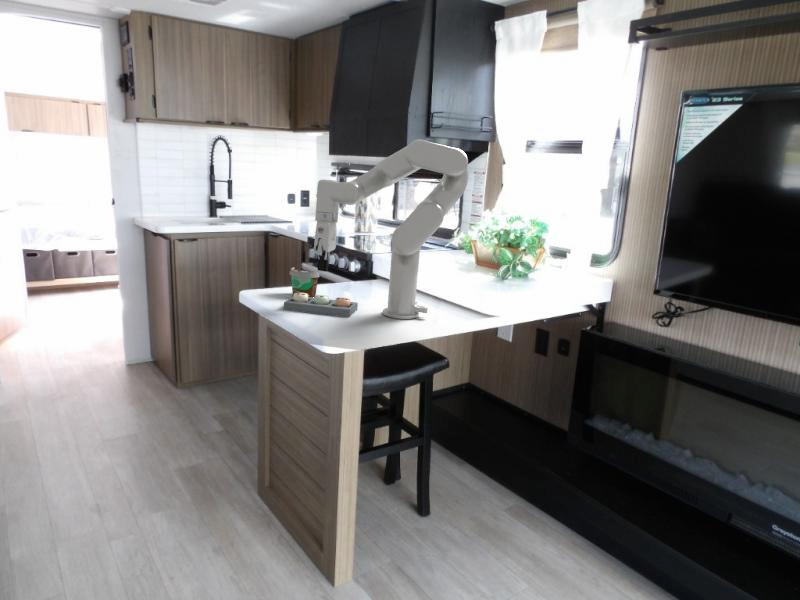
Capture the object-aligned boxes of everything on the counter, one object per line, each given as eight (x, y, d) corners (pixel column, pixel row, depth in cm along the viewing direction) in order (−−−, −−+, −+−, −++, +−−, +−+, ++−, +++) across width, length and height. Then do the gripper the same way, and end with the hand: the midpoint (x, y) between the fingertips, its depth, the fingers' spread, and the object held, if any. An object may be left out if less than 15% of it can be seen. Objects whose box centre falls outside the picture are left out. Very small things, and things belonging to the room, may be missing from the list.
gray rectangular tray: (357, 309, 198) (357, 302, 198) (349, 317, 188) (349, 309, 187) (294, 302, 202) (295, 295, 201) (283, 309, 191) (284, 302, 190)
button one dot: (330, 304, 196) (330, 295, 196) (326, 307, 192) (326, 298, 191) (316, 302, 197) (317, 294, 196) (312, 305, 192) (312, 296, 192)
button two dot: (309, 301, 197) (310, 293, 197) (305, 305, 193) (305, 296, 192) (296, 300, 198) (296, 291, 197) (291, 303, 193) (291, 294, 193)
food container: (282, 295, 212) (282, 268, 209) (292, 292, 217) (293, 267, 215) (308, 300, 206) (309, 273, 204) (318, 297, 211) (319, 271, 209)
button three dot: (351, 306, 195) (351, 297, 195) (347, 310, 190) (348, 301, 190) (337, 305, 196) (337, 296, 195) (333, 308, 191) (333, 299, 190)
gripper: (330, 220, 182) (326, 275, 186) (343, 217, 196) (339, 268, 200) (308, 217, 183) (304, 272, 187) (323, 214, 197) (319, 266, 201)
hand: (322, 270), depth 194 cm, fingers closed
